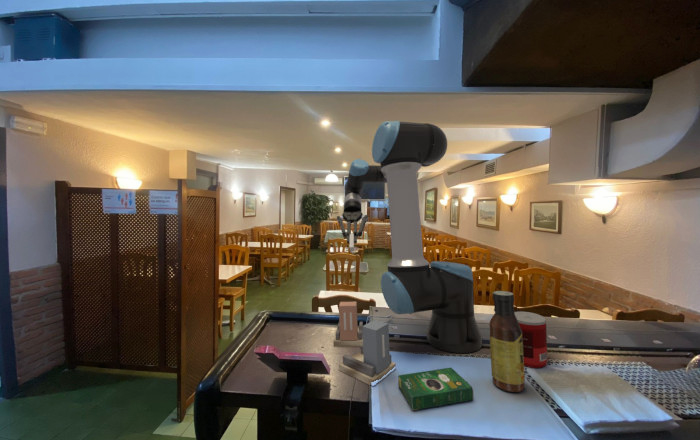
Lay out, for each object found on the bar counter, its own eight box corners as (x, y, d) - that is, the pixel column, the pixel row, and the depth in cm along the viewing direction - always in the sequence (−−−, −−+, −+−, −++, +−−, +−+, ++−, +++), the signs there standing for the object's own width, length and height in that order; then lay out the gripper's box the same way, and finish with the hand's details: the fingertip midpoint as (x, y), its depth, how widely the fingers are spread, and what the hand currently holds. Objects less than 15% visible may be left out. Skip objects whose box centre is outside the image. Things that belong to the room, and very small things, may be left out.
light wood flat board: (362, 327, 93) (361, 317, 93) (404, 380, 62) (404, 364, 62) (323, 333, 89) (323, 323, 89) (348, 392, 59) (348, 376, 59)
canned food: (543, 355, 70) (542, 312, 70) (551, 371, 63) (549, 324, 63) (509, 350, 74) (508, 309, 74) (513, 365, 66) (511, 320, 66)
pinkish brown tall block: (341, 334, 84) (340, 301, 84) (357, 333, 84) (356, 301, 84) (340, 340, 80) (338, 306, 80) (357, 340, 80) (355, 305, 79)
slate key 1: (363, 368, 64) (362, 326, 64) (376, 359, 68) (375, 319, 68) (378, 374, 62) (376, 330, 62) (390, 365, 65) (389, 323, 65)
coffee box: (451, 378, 62) (397, 387, 60) (450, 365, 62) (396, 374, 60) (474, 401, 54) (412, 412, 52) (473, 386, 54) (412, 397, 52)
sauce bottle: (530, 395, 55) (526, 297, 55) (497, 392, 56) (493, 297, 56) (517, 376, 62) (514, 289, 62) (487, 374, 63) (484, 289, 63)
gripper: (368, 211, 119) (369, 255, 102) (338, 213, 120) (335, 256, 103) (367, 198, 114) (369, 242, 97) (336, 200, 115) (332, 243, 98)
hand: (351, 249), depth 100 cm, fingers closed
